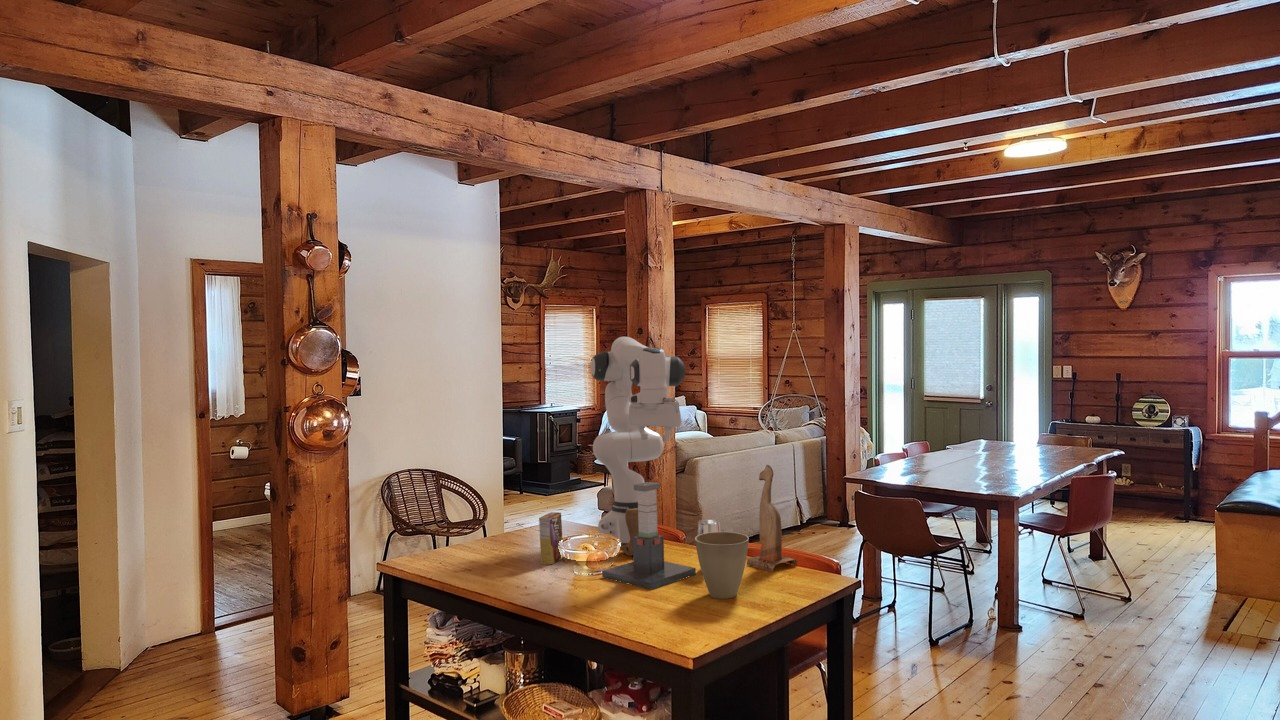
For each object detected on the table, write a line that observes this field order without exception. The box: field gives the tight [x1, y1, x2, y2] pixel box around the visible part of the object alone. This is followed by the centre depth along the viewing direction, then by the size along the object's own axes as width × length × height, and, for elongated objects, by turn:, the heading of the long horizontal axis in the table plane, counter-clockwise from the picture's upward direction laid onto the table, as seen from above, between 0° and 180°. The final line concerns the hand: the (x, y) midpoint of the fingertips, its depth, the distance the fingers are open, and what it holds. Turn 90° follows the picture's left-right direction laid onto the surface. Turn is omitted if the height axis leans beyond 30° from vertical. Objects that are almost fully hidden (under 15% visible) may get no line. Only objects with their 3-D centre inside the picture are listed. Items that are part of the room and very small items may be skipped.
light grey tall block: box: [634, 481, 661, 539], centre depth 248 cm, size 4×7×19 cm, turn 136°
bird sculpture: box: [746, 464, 798, 573], centre depth 257 cm, size 11×12×32 cm
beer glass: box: [697, 518, 722, 571], centre depth 254 cm, size 7×7×15 cm
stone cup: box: [620, 508, 639, 556], centre depth 279 cm, size 15×12×15 cm
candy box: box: [538, 511, 563, 565], centre depth 269 cm, size 9×4×15 cm, turn 160°
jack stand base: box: [601, 534, 697, 591], centre depth 248 cm, size 20×20×12 cm
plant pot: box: [694, 531, 750, 600], centre depth 227 cm, size 15×15×16 cm
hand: (655, 440), depth 265 cm, fingers open, 8 cm apart
